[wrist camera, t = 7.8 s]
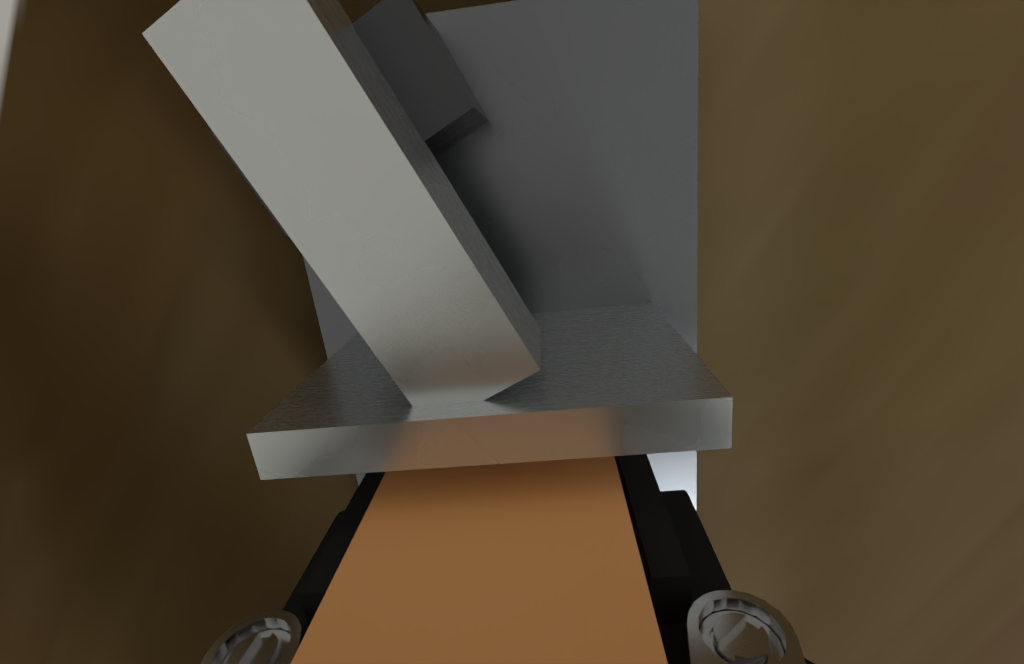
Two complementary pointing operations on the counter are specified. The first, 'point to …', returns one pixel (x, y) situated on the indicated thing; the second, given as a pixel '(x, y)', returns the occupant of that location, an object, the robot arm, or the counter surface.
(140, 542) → the counter surface
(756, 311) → the counter surface
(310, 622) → the robot arm
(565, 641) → the orange block
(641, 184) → the shaft stand
